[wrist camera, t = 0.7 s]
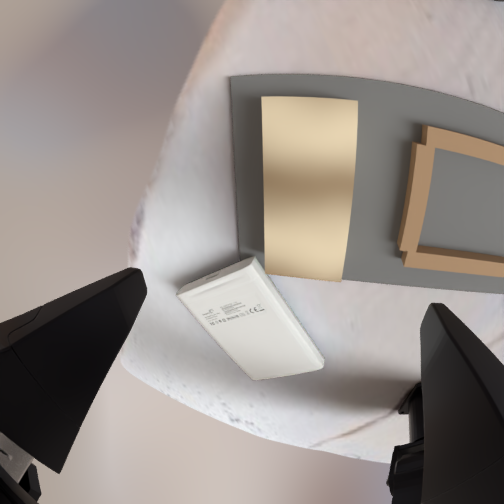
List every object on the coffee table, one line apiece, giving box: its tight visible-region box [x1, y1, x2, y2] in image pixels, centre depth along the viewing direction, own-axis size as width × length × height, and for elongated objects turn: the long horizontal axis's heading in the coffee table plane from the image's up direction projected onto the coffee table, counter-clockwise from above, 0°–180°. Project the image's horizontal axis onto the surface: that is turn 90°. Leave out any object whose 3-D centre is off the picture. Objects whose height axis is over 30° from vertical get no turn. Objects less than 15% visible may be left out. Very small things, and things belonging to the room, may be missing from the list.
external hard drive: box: [176, 256, 325, 381], centre depth 25 cm, size 2×8×12 cm
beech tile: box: [261, 96, 358, 282], centre depth 17 cm, size 11×5×2 cm, turn 2°
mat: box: [231, 74, 504, 294], centre depth 15 cm, size 14×28×2 cm, turn 92°
